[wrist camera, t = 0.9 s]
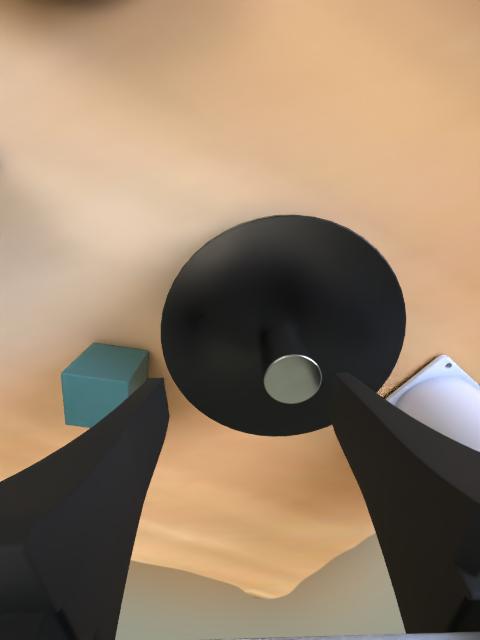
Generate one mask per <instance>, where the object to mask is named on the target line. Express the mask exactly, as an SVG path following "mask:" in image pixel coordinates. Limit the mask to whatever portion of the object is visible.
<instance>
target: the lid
mask: <svg viewBox="0 0 480 640" xmlns="http://www.w3.org/2000/svg"><path fill="white" fill-rule="evenodd" d="M405 327H406V312H405V303H404V298H403V294H402V290H401V287H400V285H399V282H398V280H397V278H396V275H395V273H394V272H393V270H392V268H391V267H390V265H389V264H388V262H387V261H386V259H385V258H384V257H383V256H382V255H381V254H380V252H379V251H378V250H377V249H376V248H375V247H374V246H373V245H371V244H370V243H369V242H368V241H367V240H366V239H364V238H363V237H362V236H360V235H358V234H357V233H355V232H353V231H352V230H350V229H348V228H346V227H344V226H341V225H339V224H337V223H334V222H332V221H328V220H324V219H320V218H316V217H311V216H302V215H274V216H268V217H262V218H257V219H254V220H251V221H247V222H244V223H241V224H239V225H236V226H234V227H232V228H230V229H228V230H226V231H224V232H222V233H221V234H219V235H218V236H216V237H215V238H213V239H211V240H210V241H208V242H207V243H206V244H205V245H204V246H203V247H202V248H200V249H199V250H198V251H197V252H196V253H195V254H194V255H193V256H192V257H191V258H190V260H189V261H188V262H187V263H186V264H185V265H184V266H183V268H182V269H181V271H180V272H179V274H178V276H177V277H176V279H175V280H174V282H173V284H172V286H171V289H170V291H169V293H168V295H167V298H166V302H165V305H164V308H163V313H162V320H161V344H162V350H163V355H164V359H165V362H166V365H167V368H168V370H169V372H170V374H171V377H172V379H173V381H174V382H175V384H176V385H177V387H178V388H179V390H180V391H181V392H182V394H183V395H184V396H185V397H186V398H187V400H188V401H189V402H190V403H191V404H193V405H194V406H195V407H196V408H197V409H198V410H199V411H201V412H202V413H203V414H205V415H206V416H208V417H209V418H211V419H212V420H214V421H216V422H218V423H220V424H222V425H224V426H227V427H229V428H231V429H234V430H238V431H241V432H244V433H249V434H254V435H261V436H291V435H299V434H304V433H308V432H313V431H316V430H319V429H322V428H325V427H328V426H330V425H332V421H331V418H330V414H329V404H330V396H331V388H332V380H333V373H349V374H351V375H352V376H354V377H355V378H356V379H358V380H359V381H361V382H362V383H363V384H365V385H366V386H367V387H369V388H370V389H371V390H373V391H374V392H376V393H377V391H378V390H379V389H380V388H381V387H382V386H383V384H384V383H385V381H386V380H387V378H388V377H389V376H390V374H391V372H392V370H393V368H394V366H395V364H396V363H397V360H398V357H399V355H400V352H401V349H402V345H403V341H404V336H405Z"/></svg>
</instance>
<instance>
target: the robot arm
mask: <svg viewBox="0 0 480 640" xmlns="http://www.w3.org/2000/svg"><path fill="white" fill-rule="evenodd" d="M447 363H448V365H446V364H447ZM445 365H446V366H445ZM329 414H330V418H331V421H332V425H333V428H334V431H335V434H336V436H337V438H338V441H339V443H340V445H341V447H342V450H343V452H344V454H345V456H346V458H347V460H348V463H349V465H350V467H351V469H352V471H353V474H354V476H355V478H356V480H357V482H358V484H359V487H360V489H361V492H362V494H363V497H364V499H365V502H366V505H367V508H368V511H369V514H370V517H371V519H372V522H373V525H374V528H375V531H376V534H377V537H378V541H379V544H380V547H381V549H382V553H383V556H384V559H385V562H386V566H387V569H388V572H389V576H390V579H391V582H392V585H393V589H394V592H395V595H396V599H397V603H398V606H399V609H400V613H401V617H402V620H403V624H404V628H405V631H406V634H385V635H351V636H318V637H282V638H250V639H249V638H247V639H214V640H480V386H479V385H478V384H477V383H476V382H475V381H474V380H473V379H472V378H471V377H469V376H468V375H467V374H466V373H465V372H464V371H463V370H462V369H461V368H460V367H459V366H458V365H457V364H456V363H455V362H454V361H453V360H451V359H450V358H449V357H448V356H446V355H440V356H438V357H437V358H436V359H435V360H433V361H432V362H431V363H430V364H428V365H427V366H426V367H425V368H423V369H422V370H421V371H419V372H418V373H417V374H416V375H414V376H413V377H412V378H411V379H409V380H408V381H407V382H406V383H404V384H403V385H402V386H401V387H399V388H398V389H397V390H396V391H394V392H393V393H392V394H391V395H389V396H388V397H387V398H386V399H384V398H383V397H381V396H380V395H378V394H377V393H376V392H374V391H373V390H371V389H370V388H369V387H367V386H366V385H365V384H363V383H362V382H361V381H359V380H358V379H356V378H355V377H354V376H352V375H351V374H349V373H333V380H332V388H331V396H330V404H329ZM168 422H169V410H168V403H167V397H166V391H165V385H164V378H149V379H148V380H147V381H145V382H144V383H143V384H142V385H141V386H140V387H139V388H138V389H137V390H136V391H134V392H133V393H132V394H131V395H130V396H129V397H128V398H127V399H126V400H124V401H123V402H122V403H121V404H120V405H119V406H118V407H116V408H115V409H114V410H113V411H112V412H110V413H109V414H108V415H107V416H105V417H104V418H103V419H102V420H100V421H99V422H98V423H97V424H95V425H94V426H93V427H91V428H90V429H89V430H87V431H86V432H85V433H83V434H82V435H80V436H79V437H77V438H76V439H74V440H73V441H72V442H70V443H68V444H67V445H65V446H64V447H62V448H60V449H59V450H57V451H55V452H54V453H52V454H50V455H49V456H47V457H46V458H44V459H42V460H41V461H39V462H37V463H35V464H34V465H32V466H30V467H28V468H26V469H24V470H22V471H21V472H19V473H17V474H15V475H13V476H11V477H9V478H7V479H5V480H3V481H1V482H0V640H115V636H116V631H117V624H118V620H119V614H120V609H121V603H122V598H123V593H124V589H125V584H126V578H127V574H128V569H129V564H130V559H131V555H132V550H133V546H134V541H135V537H136V532H137V528H138V524H139V520H140V516H141V512H142V507H143V503H144V500H145V497H146V493H147V490H148V487H149V484H150V481H151V478H152V476H153V473H154V470H155V467H156V464H157V461H158V458H159V455H160V452H161V449H162V446H163V443H164V440H165V436H166V432H167V427H168ZM212 640H213V639H212Z"/></svg>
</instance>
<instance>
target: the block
mask: <svg viewBox="0 0 480 640" xmlns="http://www.w3.org/2000/svg"><path fill="white" fill-rule="evenodd" d="M147 369H148V351H146V350H139V349H133V348H126V347H119V346H112V345H105V344H98V343H93V344H91V345H90V346H89V347H88V348H87V349H86V350H85V351H84V352H83V353H82V354H81V355H80V356H79V357H78V358H77V359H76V360H74V361H73V362H72V363H71V364H70V365H69V366H68V367H67V368H66V369H65V370H64V371H63V372H62V373H61V380H62V391H63V402H64V413H65V424H66V425H73V426H81V427H89V428H91V427H93V426H94V425H95V424H97V423H98V422H99V421H100V420H102V419H103V418H104V417H105V416H107V415H108V414H109V413H110V412H112V411H113V410H114V409H115V408H116V407H118V406H119V405H120V404H121V403H122V402H123V401H124V400H126V399H127V398H128V397H129V396H130V395H131V394H132V393H133V392H134V391H136V390H137V389H138V388H139V387H140V386H141V385H142V384H143V383H144V382H145V381H147Z"/></svg>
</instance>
